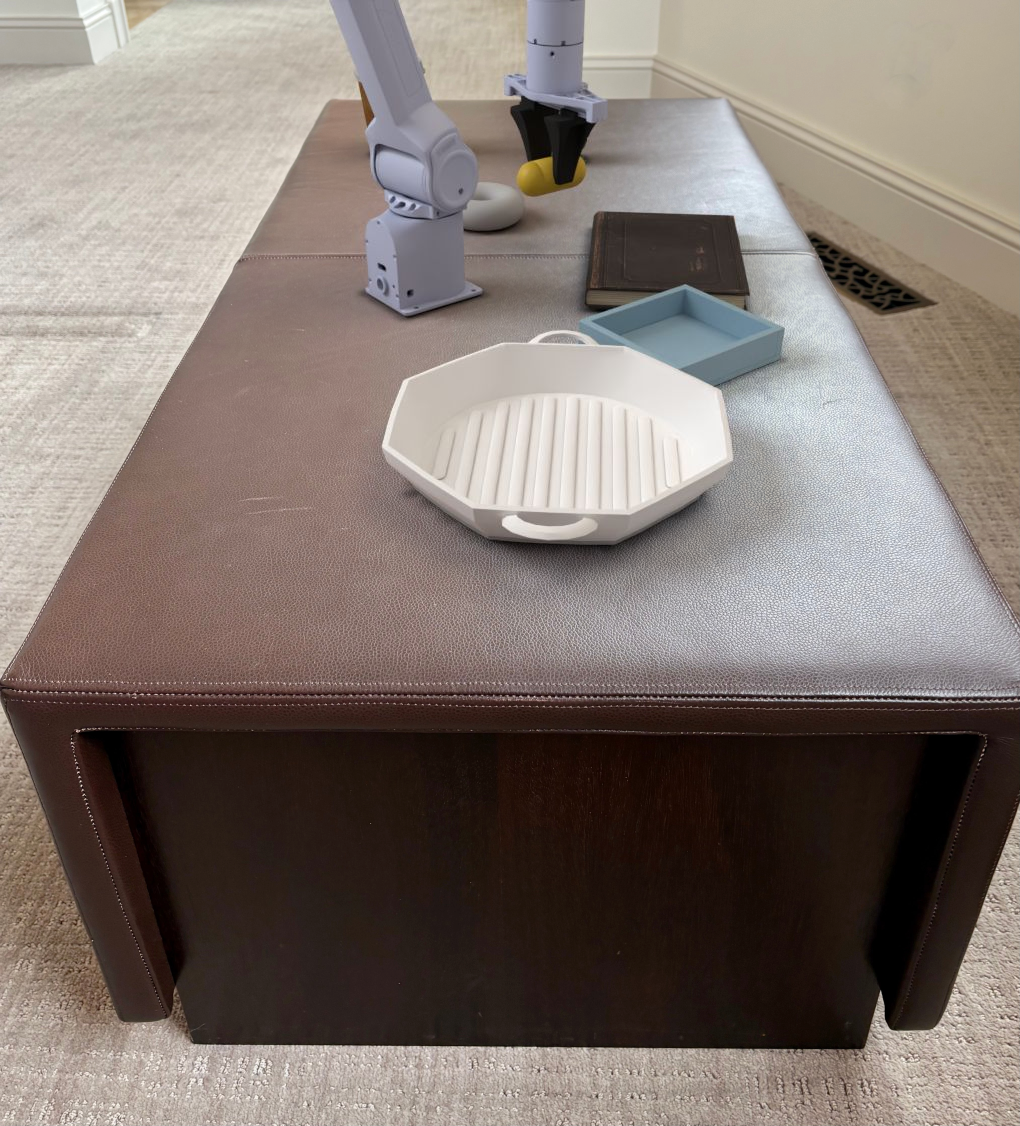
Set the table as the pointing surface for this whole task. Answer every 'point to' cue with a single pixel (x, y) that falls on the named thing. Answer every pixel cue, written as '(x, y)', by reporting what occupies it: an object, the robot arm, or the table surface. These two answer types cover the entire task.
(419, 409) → the pan
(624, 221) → the hardcover book
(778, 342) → the tray
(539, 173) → the yellow rounded capsule
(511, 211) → the donut
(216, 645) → the table surface
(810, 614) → the table surface
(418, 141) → the robot arm
